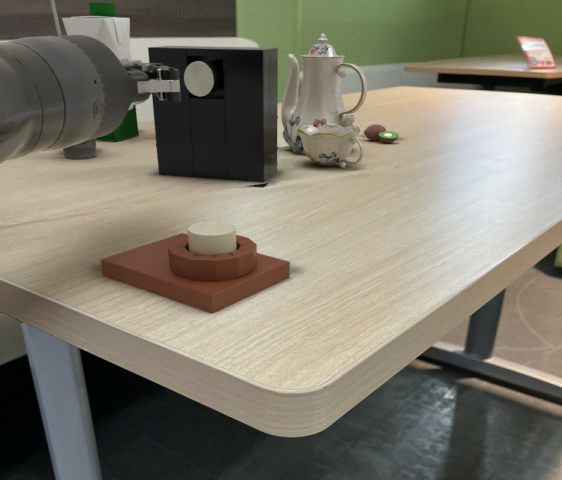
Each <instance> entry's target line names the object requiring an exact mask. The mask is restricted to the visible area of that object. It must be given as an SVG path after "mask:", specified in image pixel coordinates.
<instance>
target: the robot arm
mask: <svg viewBox="0 0 562 480" xmlns="http://www.w3.org/2000/svg"><path fill="white" fill-rule="evenodd" d="M153 93H154V95H155V96H157V97H159V100H166V101H168V102H171V103H177V102H179V101H181V94H180V80H179V70H178V69H175V68H171V67H168V66H163V64H162V63H149V62H142V60H140V59H131V60H128V59H118V58H117V56H116V55H115V54H114V53H113V52H112V50H111V49H109V48H108V47H107V46H106V45H105V44H103V43H102V42H100V41H99V40H97V39H95V38H92V37H89V36H85V35H67V34H66V35H62V36H58V35H44V36H43V35H40V36H39V35H38V36H26V37H25V36H24V37H19V38H15V39H12V40H9V41H6V42H5V41H3V42H0V165H1V164H3V163H5V162H8V161H13V160H17V159H19V158H23V157H27V156H29V155H32V154H36V153H39V152H51V151H57V150H63V148H66V147H70V146H73V145H76V144H79V143H82V142H86V141H89V140H92V139H95V138H98V137H102V136H105V135H107V134H110V133H111V132H113V131H114V130H115V129H117V128H118V127H119V126H120V124H121V123H122V121H123V120H124V118H125V116H126V114H127V112H128V110H131V109H133V106H134V105H137V106H138V105H140V104H143V103H145V102H146V101H148V100H149V98H150V96H151V95H152V94H153Z"/></svg>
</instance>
